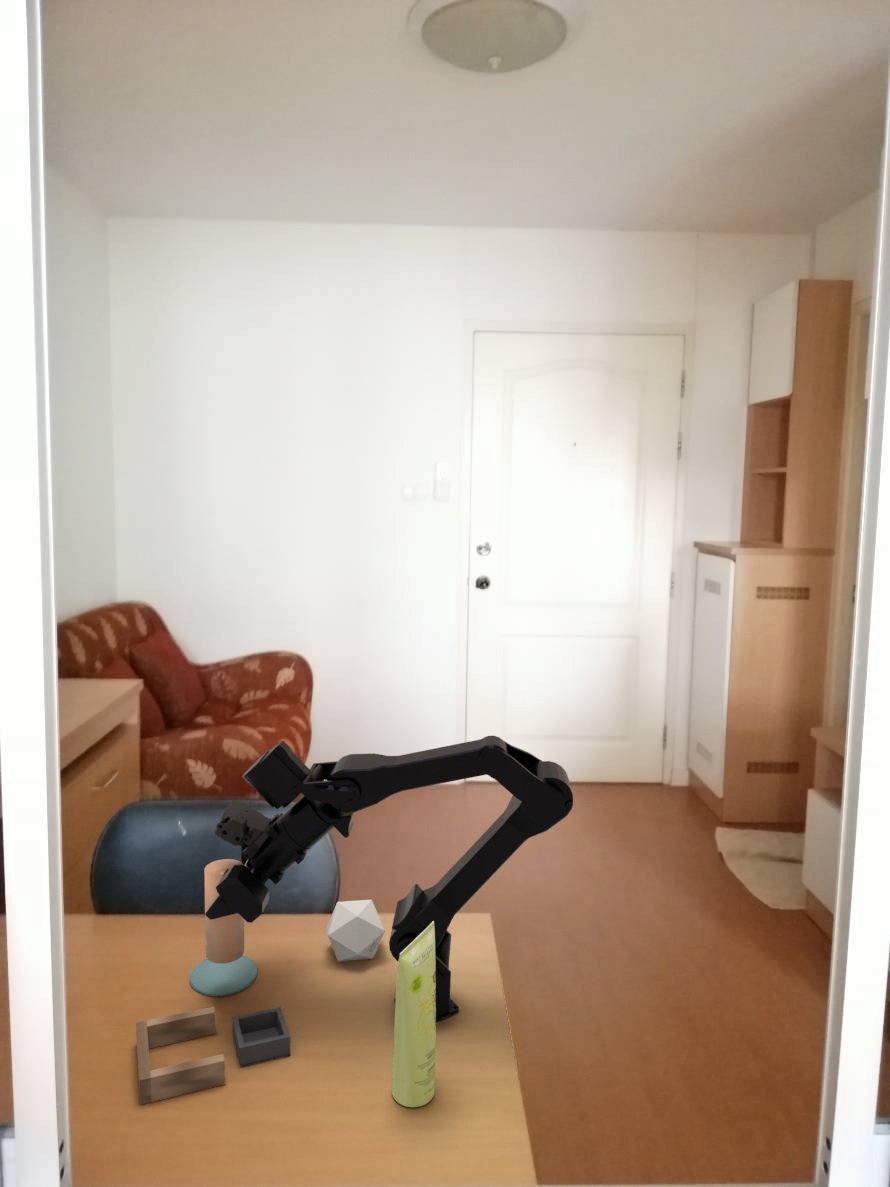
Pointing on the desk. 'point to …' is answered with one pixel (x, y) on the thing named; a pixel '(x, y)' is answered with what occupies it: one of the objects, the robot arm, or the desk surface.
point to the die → (355, 930)
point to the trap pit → (260, 1036)
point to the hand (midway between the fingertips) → (214, 905)
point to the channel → (180, 1075)
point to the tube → (415, 1022)
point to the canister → (221, 919)
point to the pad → (223, 977)
